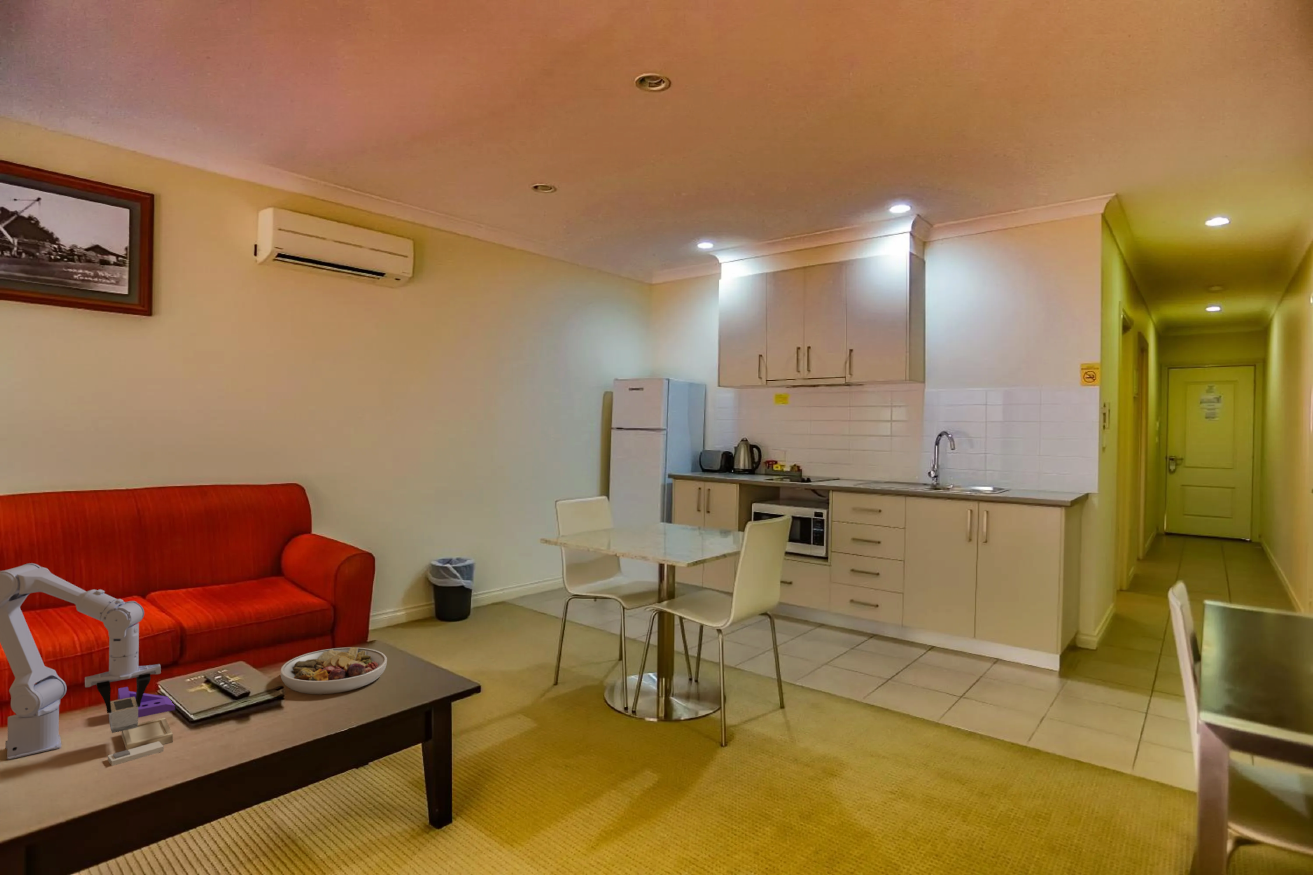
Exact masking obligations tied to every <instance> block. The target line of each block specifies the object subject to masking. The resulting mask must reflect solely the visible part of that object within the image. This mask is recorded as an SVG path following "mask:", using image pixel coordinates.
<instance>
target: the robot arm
mask: <svg viewBox="0 0 1313 875" xmlns="http://www.w3.org/2000/svg"><path fill="white" fill-rule="evenodd" d="M105 592H106V591H105V590H103V589H101V588H100V589H98V590H97V589H95V588H94V589H90V590H87V591H86V590H85V589H83V588H81V587H80V586H79V587H78V586H76V584H72V583H71V582H69V581H68V580H67V581H66V580H65V579H63V578H62V577H59V576H57V575H55V574H54V573H52V572H51V571H50V570H49V569H48V568H47V567H43V566H41V565H39V564H37V563H33V562H31V563H30V562H29V563H28V562H27V563H26V564H22V565H19V566H16V567H13V568H12V567H11V568H9V569H5V570H0V645H1V649H2V650H3V652H4V655H5V657H6V660H7V662H8V663H9V664H8V665H9V667H10V669H11V671H12V673H13V676H14V680H13V682H12V684H11V685H10V688H9V690H8V692H9V694H10V698H11V699H10V708H11V710H12V712H13V713H15V714H13V715H10V716H7V740H5V750H6V751H7V752H6V755H7V756H6V759H7V760H13V759H16V758H17V759H18V758H22V757H26V756H29V755H34V754H38V753H43V752H48V751H53V750H56V749H60V748H62V741H61V735H60V734H59V731H60V727H59V726H60V725H59V724H60V705H61V699H63V697H64V696H65V695H66V693H67V690H68V689H67V684H66V682H65V681H64V680H63V679H62V678H61V677H60V676H59V675H58V673H57V671H56V669H53V668H51V667H48V666H45V664H44V661H43V658H42V657H41V656H42V655H41V654H40V651H39V649H38V646H37V644H36V642H35V640H34V637H33V635H32V632H31V631H30V628H29V626H28V623H27V622H26V621H27V620H26V619H25V616H24V614H23V610H21V606H22V604H23V603H24V602H25V600H26V599H27V598H28V596H29V595H30V594H33V593H34V594H35V593H44V594H46V595H49V596H52V597H54V598H57V599H60V600H64V601H65V602H69V603H71V604H74V605H75V608H76V611H77V612H79V613H81V614H83V615H86V616H88V617H90V618H92V619H95V620H97V621H100V622H102V623H103V626H104V628H106V630H107V632H108V637H109V639H108V640H109V642H108V648H109V649H108V671H105V672H102V673H97V674H94V675H90V676H89V675H88V676H85V677H84V687H85V688H91V687H92V686H95V685H96V689H97V691H98V693H99V695H101V697H102V700H103V701H104V704H105V708H106V714H109V713H111V703H110V701H111V692H112V691H111V690H112V687H111V683H112V682H118V681H122V680H128V679H133V678H136V691H135V692H136V702H137V705H138V707H140V704H141V700H142V697H143V694H144V693H145V692H146V689H147V687H148V686H149V684H150V682H151V678H152V677H151V675H160V674H161V673H162V672H161V670H162V668H161V664H160V663H157V664H149V665H139V660H140V659H139V656H140V655H139V648H140V646H139V645H140V644H139V643H140V642H139V641H140V639H139V638H140V637H139V636H140V634H139V633H140V622H142V620H143V618H144V616H145V610H144V608H143V606H142V605H141V604H140V603H138V601H135V600H129V601H124V600H123V599H121V598H115V597H113V596H111V595H109V594H107V593H105Z"/></svg>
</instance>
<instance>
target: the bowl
mask: <svg viewBox="0 0 1313 875" xmlns="http://www.w3.org/2000/svg"><path fill="white" fill-rule="evenodd" d="M387 662H388V658H387V656H386V655H385V654H384V653H383V652H381V651H379V650H376V649H373V648H364V647H356V646H355V647H354V646H353V647H335V648H328V649H321V650H317V651H312V652H307V653H304V654H302V655H299V656H296V657H293V658H292V659H290V660H288V661H286V662H285V663H284V664H283V665H281V668H280V678H281V680H282V682H283V684H284V685H285V686H286V687H287V688H288V689H289V690H292V691H295V692H297V693H302V694H309V695H329V694H338V693H346V692H349V691H353V690H356V689H359V688H363V687H365V686H368V685H369V684H371V683H373V682H375V681H376V680H377V679H379V678H380V677H381V676H382V674H383V673H384V672H385V670H386V667H387V664H388V663H387Z"/></svg>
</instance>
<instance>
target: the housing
mask: <svg viewBox="0 0 1313 875" xmlns="http://www.w3.org/2000/svg"><path fill="white" fill-rule="evenodd" d="M110 703H111V713H108V723H109V727H110V732H111V734H115V733H119V732H122V731H124V730H128V729H133V728H137V727H138V723H139V717H138V705H137V702H136V699H135V697H130V698H125V699H120V700H118V699H115V700H110Z"/></svg>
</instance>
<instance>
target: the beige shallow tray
mask: <svg viewBox="0 0 1313 875" xmlns="http://www.w3.org/2000/svg"><path fill="white" fill-rule="evenodd" d="M121 738H122V740H123V743H124V747H125V750H129V749H133V748H136V747H140V746H143V745H147V744H150V743H154V742H158V741H159V742H160V743H161V744H162V745H166V744H171V743H173V740H174V739H173V738H174V734H173V731H172V730H171V727H170V725H169V723H168V721H167V718H166V717H162V718H160V717H159V718H156V719H152V720H147V721H142V722H138V727H137V728H133V729H128V730H124V731H121Z"/></svg>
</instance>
